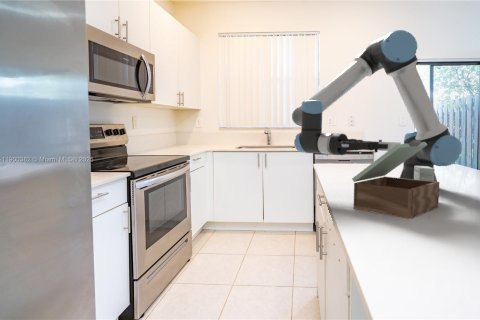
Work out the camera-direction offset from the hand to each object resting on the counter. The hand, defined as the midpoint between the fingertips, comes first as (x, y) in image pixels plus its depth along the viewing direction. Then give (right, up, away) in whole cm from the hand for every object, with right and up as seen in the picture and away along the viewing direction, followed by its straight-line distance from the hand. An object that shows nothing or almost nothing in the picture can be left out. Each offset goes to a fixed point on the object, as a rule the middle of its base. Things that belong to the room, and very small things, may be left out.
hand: (399, 146), depth 124 cm
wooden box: (0, -19, +2) cm, 20 cm away
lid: (-1, -5, +2) cm, 5 cm away
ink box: (+14, -18, +15) cm, 28 cm away
